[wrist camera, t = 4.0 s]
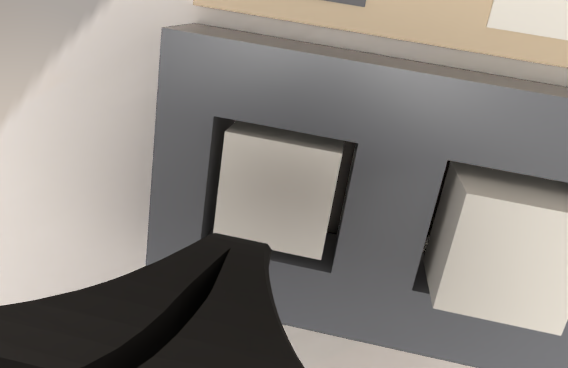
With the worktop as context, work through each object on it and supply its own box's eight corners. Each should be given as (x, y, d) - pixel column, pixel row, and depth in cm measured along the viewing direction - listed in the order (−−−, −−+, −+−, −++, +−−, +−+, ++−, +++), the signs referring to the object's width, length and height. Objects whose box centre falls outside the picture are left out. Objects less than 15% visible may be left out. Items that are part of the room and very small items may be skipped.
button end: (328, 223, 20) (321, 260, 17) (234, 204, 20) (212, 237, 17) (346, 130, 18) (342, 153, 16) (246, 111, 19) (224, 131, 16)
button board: (754, 379, 19) (820, 444, 16) (173, 254, 21) (143, 293, 18) (891, 143, 16) (1002, 173, 13) (194, 23, 18) (161, 27, 15)
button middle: (530, 282, 18) (561, 335, 15) (423, 260, 18) (433, 308, 15) (567, 183, 16) (607, 220, 14) (450, 160, 17) (466, 193, 14)
